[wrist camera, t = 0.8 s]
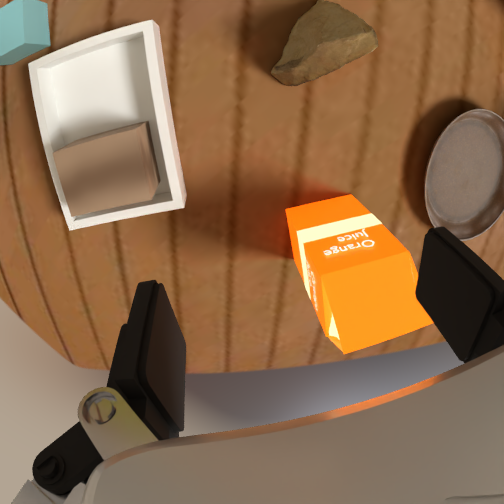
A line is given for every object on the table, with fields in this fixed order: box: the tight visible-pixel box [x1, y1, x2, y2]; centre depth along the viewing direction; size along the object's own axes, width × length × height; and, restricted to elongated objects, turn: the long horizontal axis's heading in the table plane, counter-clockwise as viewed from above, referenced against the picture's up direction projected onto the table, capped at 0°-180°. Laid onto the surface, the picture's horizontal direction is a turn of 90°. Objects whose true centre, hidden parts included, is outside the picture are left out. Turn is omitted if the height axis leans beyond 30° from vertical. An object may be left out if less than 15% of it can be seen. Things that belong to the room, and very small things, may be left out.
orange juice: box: [285, 194, 434, 354], centre depth 32 cm, size 8×9×20 cm
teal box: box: [0, 0, 51, 65], centre depth 20 cm, size 6×6×6 cm
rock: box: [271, 0, 378, 86], centre depth 26 cm, size 11×9×10 cm
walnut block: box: [52, 121, 161, 217], centre depth 30 cm, size 7×9×6 cm
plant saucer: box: [424, 109, 504, 241], centre depth 37 cm, size 21×21×3 cm
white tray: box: [28, 20, 187, 230], centre depth 29 cm, size 20×14×4 cm
